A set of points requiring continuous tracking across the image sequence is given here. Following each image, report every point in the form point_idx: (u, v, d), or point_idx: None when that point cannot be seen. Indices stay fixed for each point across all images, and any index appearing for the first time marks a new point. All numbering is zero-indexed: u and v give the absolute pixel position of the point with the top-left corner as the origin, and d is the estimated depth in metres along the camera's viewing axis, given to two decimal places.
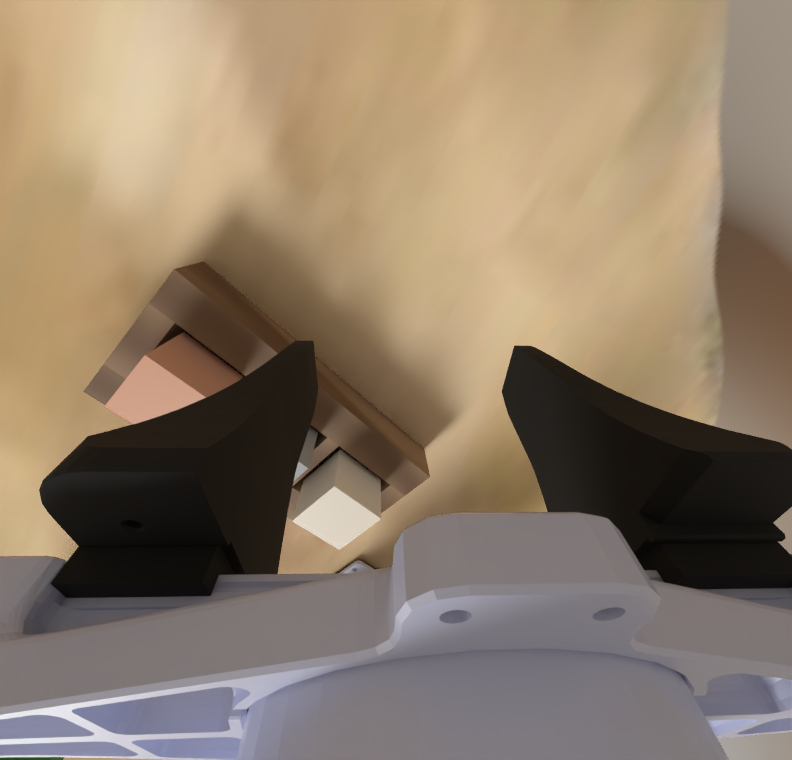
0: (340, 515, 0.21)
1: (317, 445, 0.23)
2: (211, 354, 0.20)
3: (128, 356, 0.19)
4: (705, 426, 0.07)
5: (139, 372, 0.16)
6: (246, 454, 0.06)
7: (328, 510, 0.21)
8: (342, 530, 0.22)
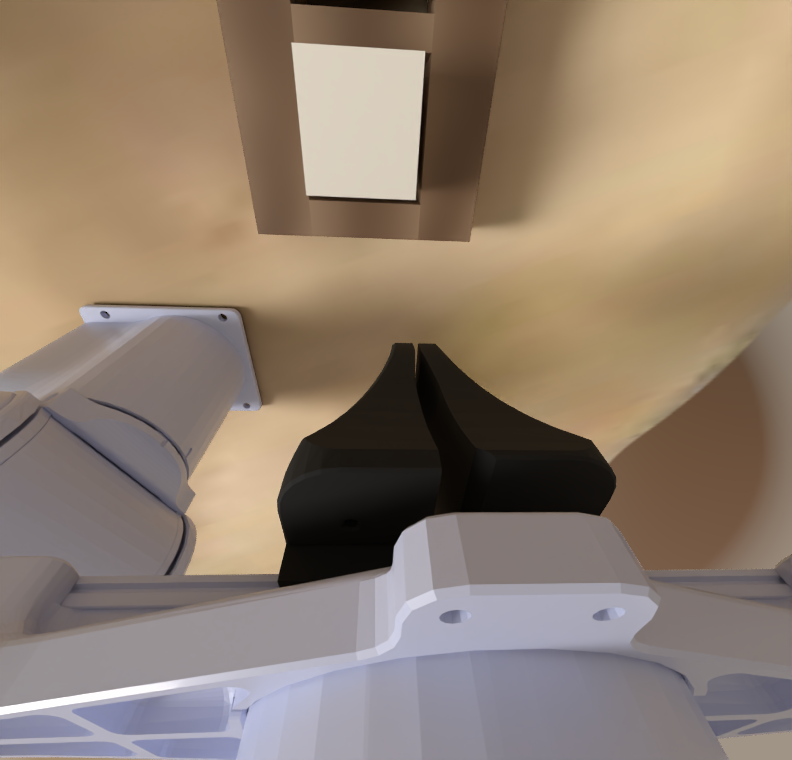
0: (374, 127, 0.11)
1: (401, 14, 0.12)
2: None
3: None
4: (538, 424, 0.07)
5: None
6: None
7: (367, 93, 0.11)
8: (347, 162, 0.12)
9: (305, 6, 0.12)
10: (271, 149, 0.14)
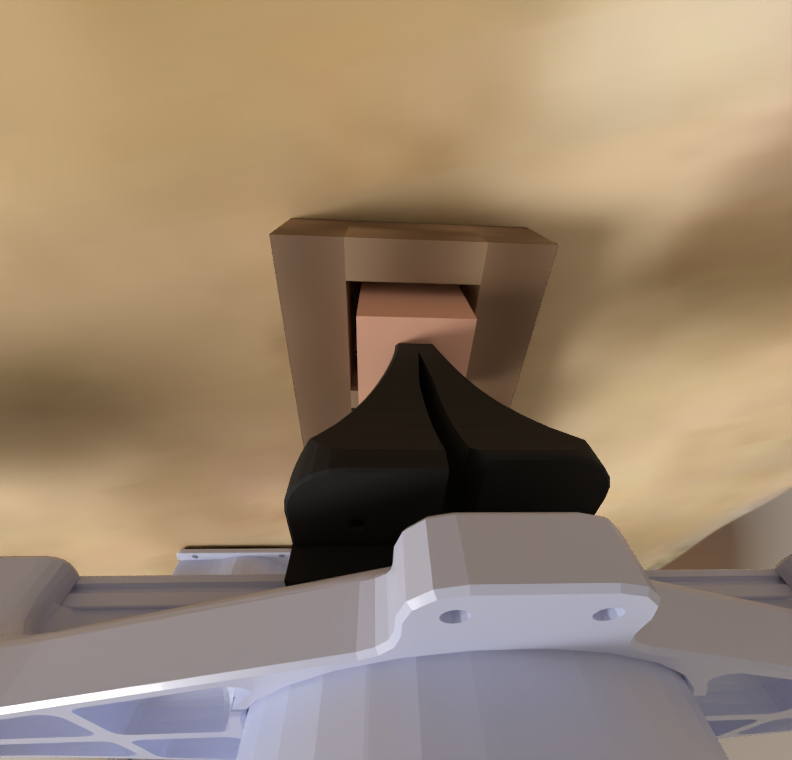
0: None
1: None
2: None
3: (384, 260, 0.12)
4: (533, 424, 0.07)
5: (444, 325, 0.11)
6: None
7: None
8: None
9: None
10: None
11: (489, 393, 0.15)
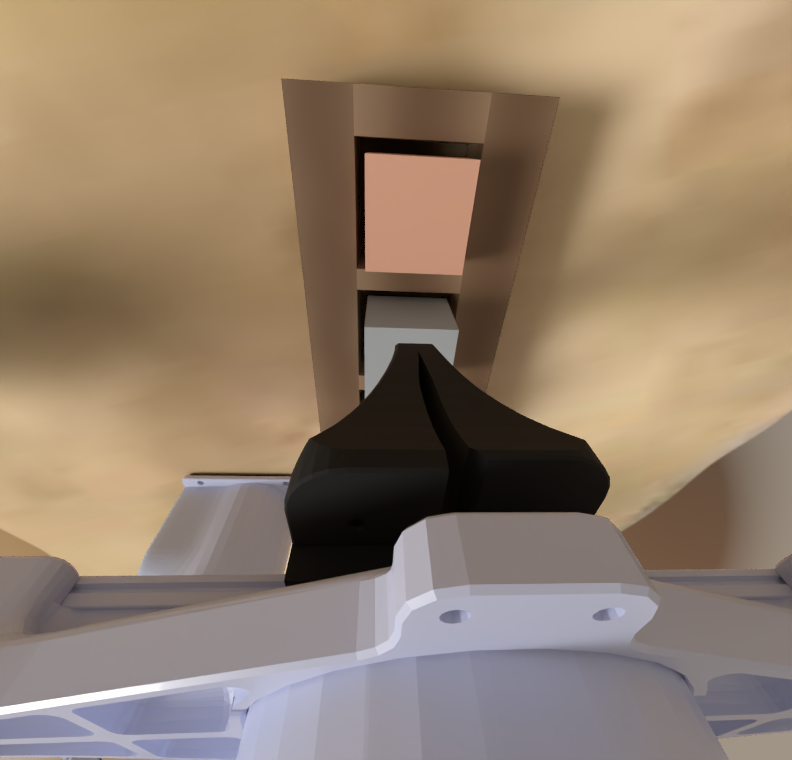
0: None
1: None
2: None
3: (392, 112, 0.12)
4: (533, 424, 0.07)
5: (449, 167, 0.12)
6: None
7: None
8: None
9: None
10: None
11: (491, 275, 0.16)
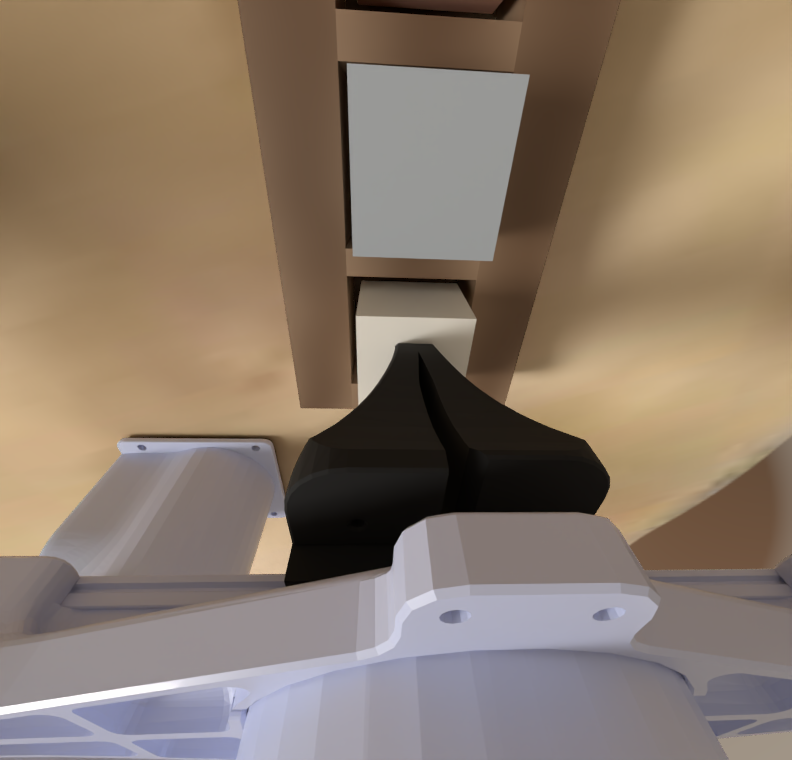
0: None
1: None
2: None
3: None
4: (533, 424, 0.06)
5: None
6: None
7: None
8: None
9: None
10: (318, 348, 0.14)
11: (571, 27, 0.09)
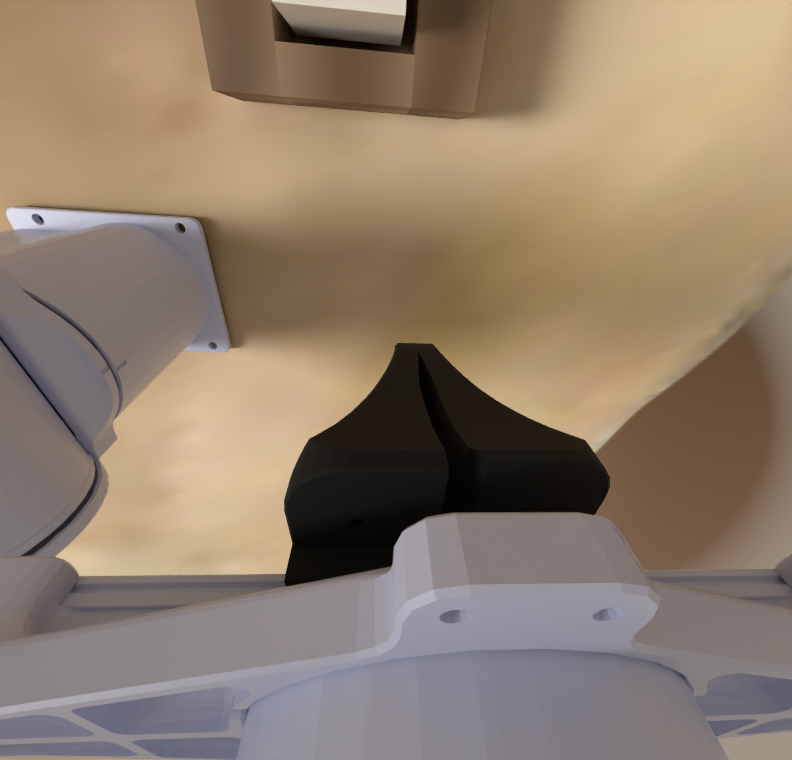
0: None
1: None
2: None
3: None
4: (533, 424, 0.07)
5: None
6: None
7: None
8: None
9: None
10: None
11: None
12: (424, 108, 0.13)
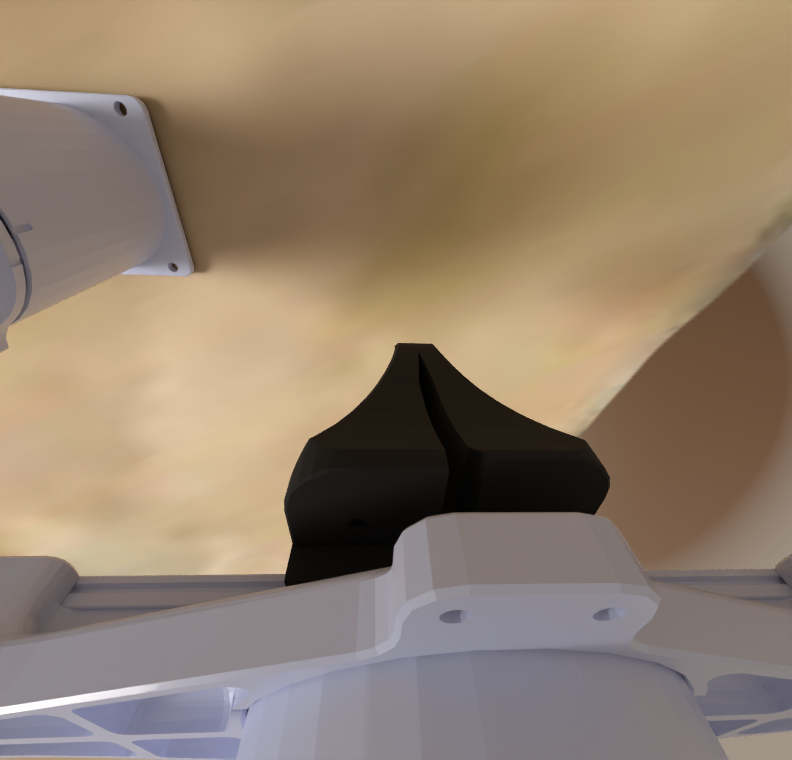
0: None
1: None
2: None
3: None
4: (533, 424, 0.07)
5: None
6: None
7: None
8: None
9: None
10: None
11: None
12: None
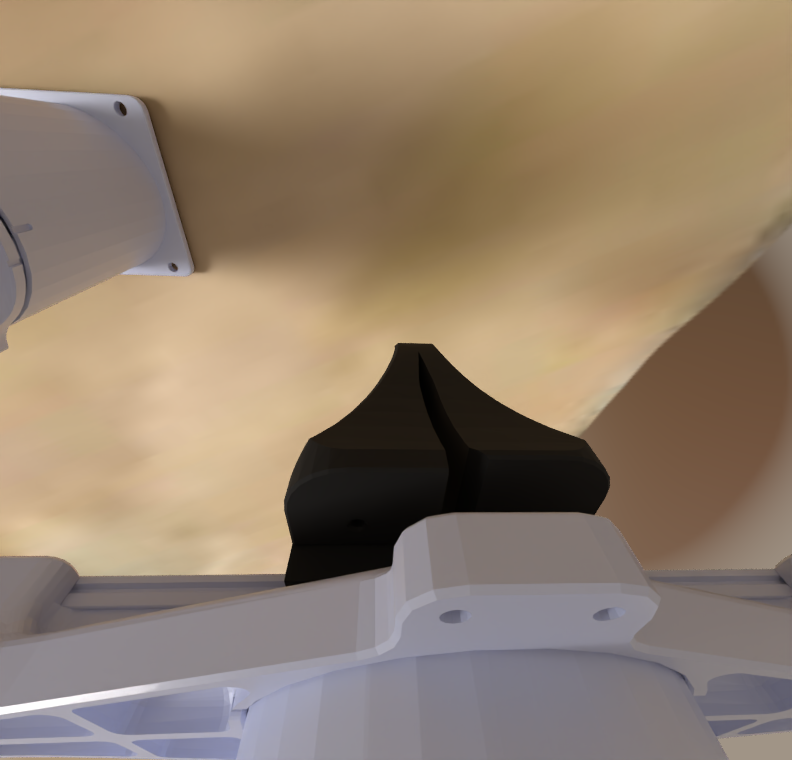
0: None
1: None
2: None
3: None
4: (533, 424, 0.07)
5: None
6: None
7: None
8: None
9: None
10: None
11: None
12: None
